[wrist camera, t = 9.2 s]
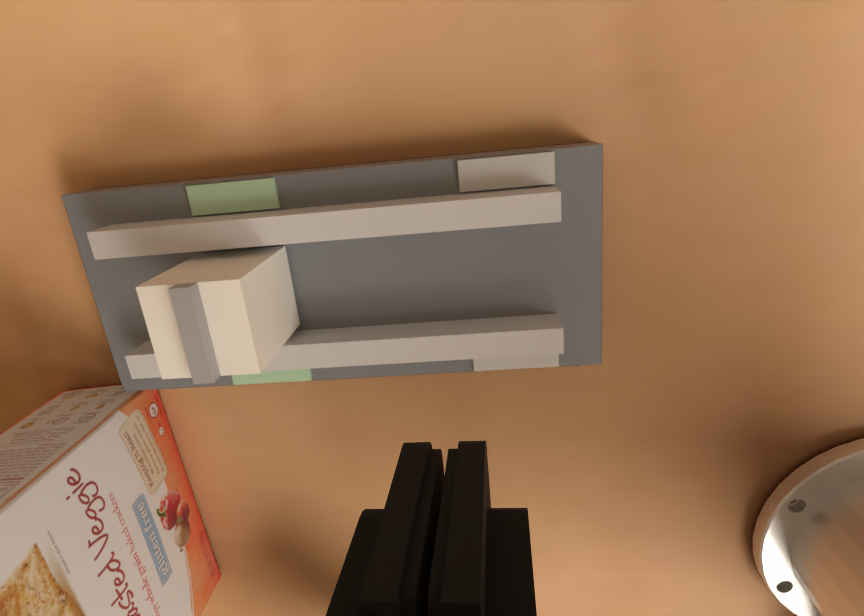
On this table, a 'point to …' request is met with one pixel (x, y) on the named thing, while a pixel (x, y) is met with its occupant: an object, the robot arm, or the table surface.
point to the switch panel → (374, 261)
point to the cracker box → (99, 511)
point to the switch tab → (220, 313)
